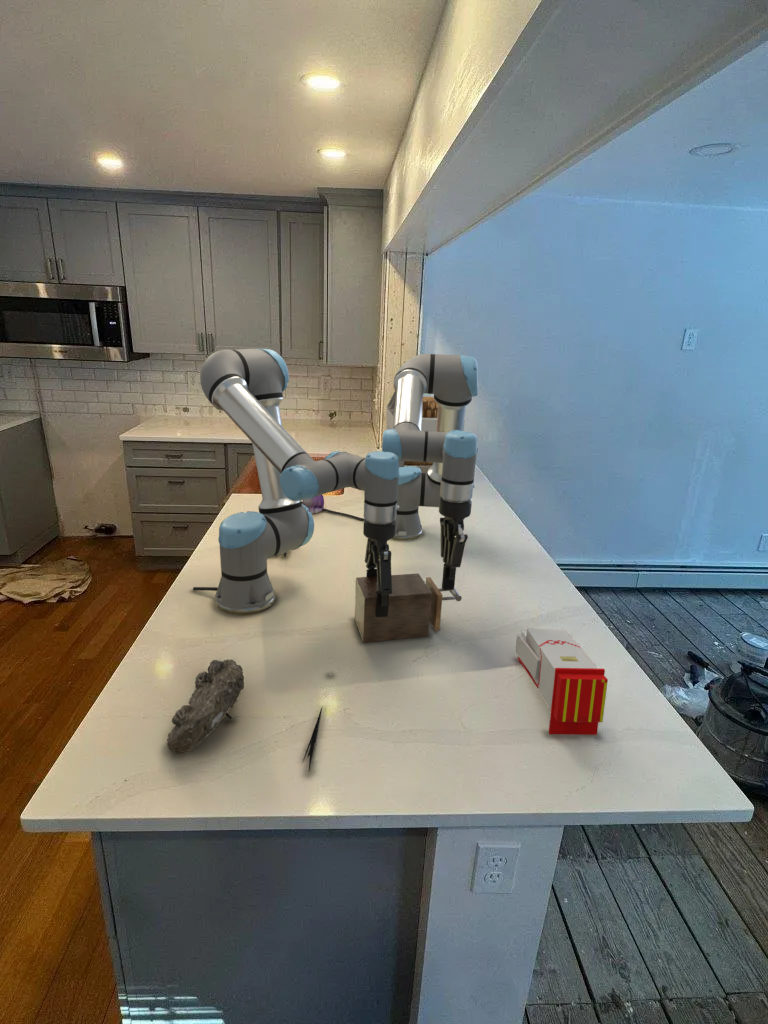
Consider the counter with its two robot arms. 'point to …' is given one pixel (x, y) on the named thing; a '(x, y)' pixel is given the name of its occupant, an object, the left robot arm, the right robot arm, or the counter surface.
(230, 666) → the fossil
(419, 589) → the cabinet
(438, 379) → the right robot arm
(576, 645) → the toy
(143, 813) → the counter surface
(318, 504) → the figurine
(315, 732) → the feather
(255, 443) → the left robot arm
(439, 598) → the drawer
